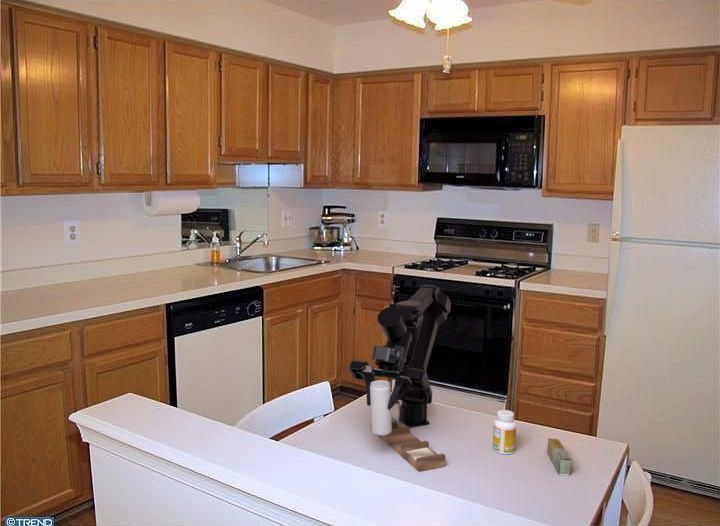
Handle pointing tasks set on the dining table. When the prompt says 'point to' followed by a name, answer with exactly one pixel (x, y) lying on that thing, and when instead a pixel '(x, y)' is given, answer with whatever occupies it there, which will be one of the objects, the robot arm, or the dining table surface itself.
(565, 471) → the medication box
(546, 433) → the dining table surface
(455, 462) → the dining table surface
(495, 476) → the dining table surface
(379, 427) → the beverage can
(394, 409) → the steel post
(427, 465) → the walnut rail
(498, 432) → the supplement bottle
